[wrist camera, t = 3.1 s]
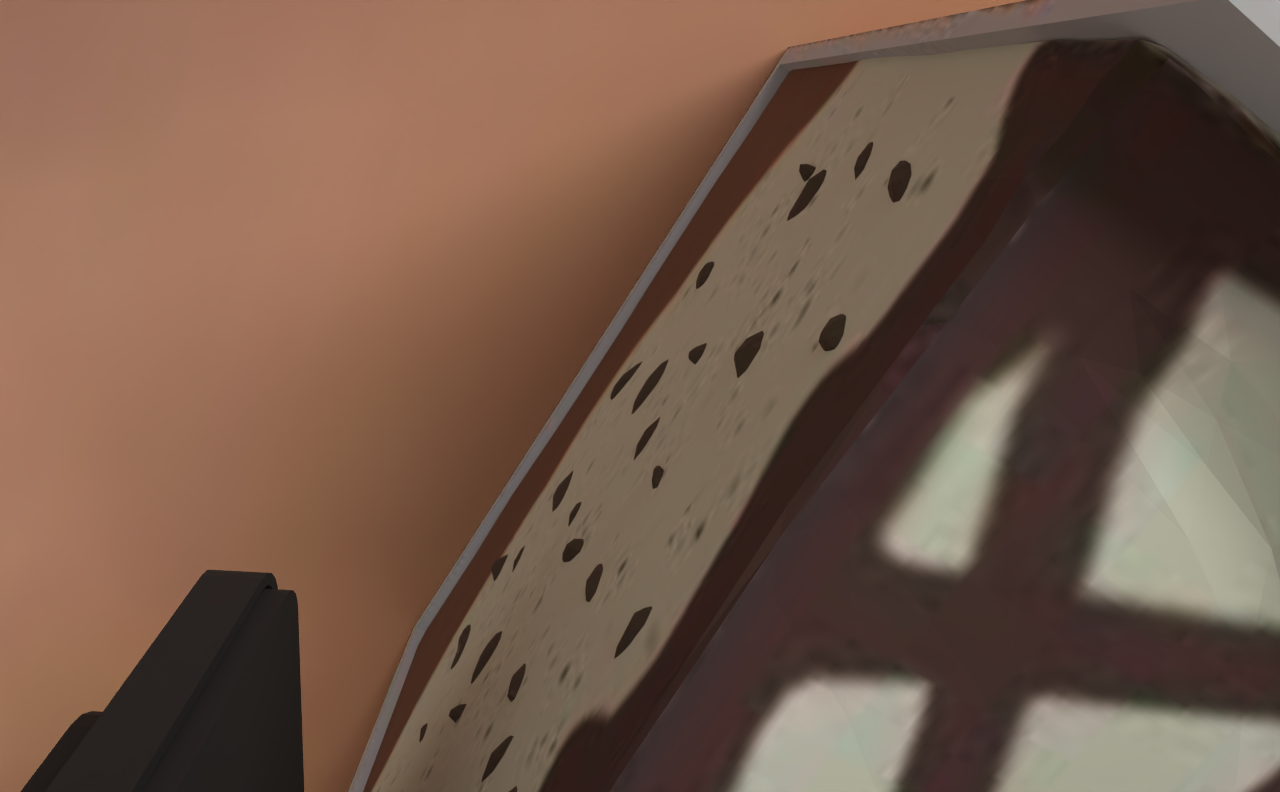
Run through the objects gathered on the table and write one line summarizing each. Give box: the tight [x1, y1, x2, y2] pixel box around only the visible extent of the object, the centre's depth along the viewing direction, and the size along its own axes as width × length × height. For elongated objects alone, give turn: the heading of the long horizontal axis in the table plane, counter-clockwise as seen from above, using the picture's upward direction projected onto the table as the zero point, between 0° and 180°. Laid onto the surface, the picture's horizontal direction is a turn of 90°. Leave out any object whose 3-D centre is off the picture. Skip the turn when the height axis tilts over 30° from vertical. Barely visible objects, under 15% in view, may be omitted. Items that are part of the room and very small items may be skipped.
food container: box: [348, 0, 1280, 792], centre depth 11 cm, size 12×6×10 cm, turn 148°
